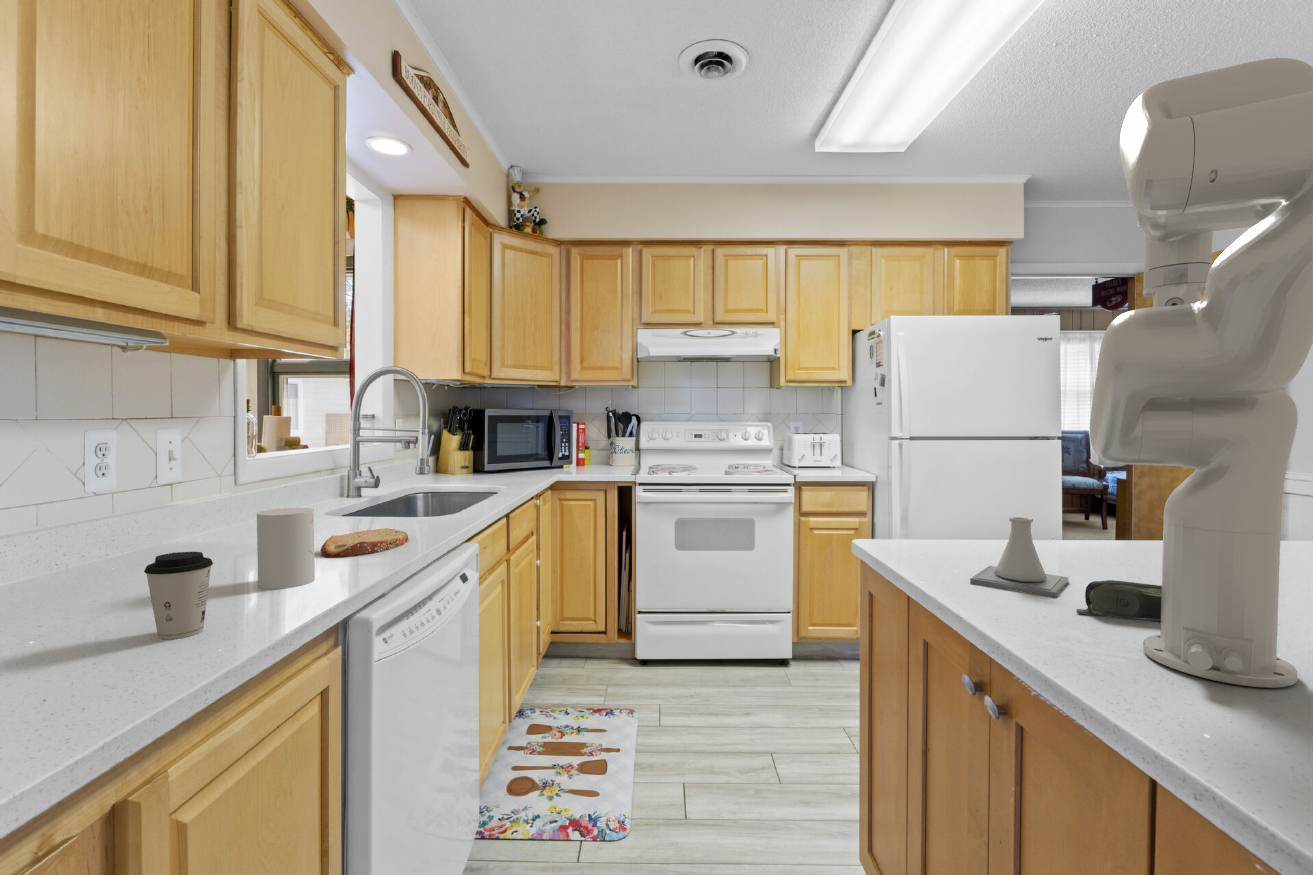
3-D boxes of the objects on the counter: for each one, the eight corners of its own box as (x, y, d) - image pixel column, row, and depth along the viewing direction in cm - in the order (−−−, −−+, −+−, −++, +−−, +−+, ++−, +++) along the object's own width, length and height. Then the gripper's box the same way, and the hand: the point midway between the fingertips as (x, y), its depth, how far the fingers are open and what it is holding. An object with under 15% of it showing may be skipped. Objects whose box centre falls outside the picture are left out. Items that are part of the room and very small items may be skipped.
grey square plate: (1055, 597, 93) (1055, 591, 93) (970, 583, 101) (970, 577, 101) (1068, 582, 102) (1068, 576, 102) (989, 569, 110) (989, 565, 110)
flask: (985, 573, 104) (986, 516, 103) (1017, 570, 106) (1018, 513, 106) (1022, 585, 97) (1023, 522, 96) (1056, 581, 99) (1057, 520, 99)
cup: (324, 580, 103) (323, 510, 102) (273, 591, 96) (272, 516, 96) (299, 573, 107) (297, 506, 107) (248, 584, 100) (247, 512, 100)
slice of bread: (404, 537, 142) (403, 521, 142) (419, 551, 127) (419, 533, 127) (316, 545, 133) (316, 528, 133) (322, 561, 118) (322, 542, 118)
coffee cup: (227, 626, 80) (226, 551, 80) (173, 645, 73) (171, 563, 73) (188, 621, 82) (186, 548, 82) (131, 639, 75) (129, 559, 75)
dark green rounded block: (1199, 586, 83) (1073, 575, 87) (1212, 592, 80) (1081, 580, 84) (1197, 622, 83) (1071, 609, 87) (1210, 629, 80) (1079, 616, 84)
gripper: (1211, 266, 79) (1207, 397, 80) (1211, 288, 92) (1208, 400, 92) (1138, 276, 84) (1135, 399, 85) (1147, 294, 97) (1144, 401, 97)
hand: (1173, 399), depth 88 cm, fingers open, 9 cm apart
